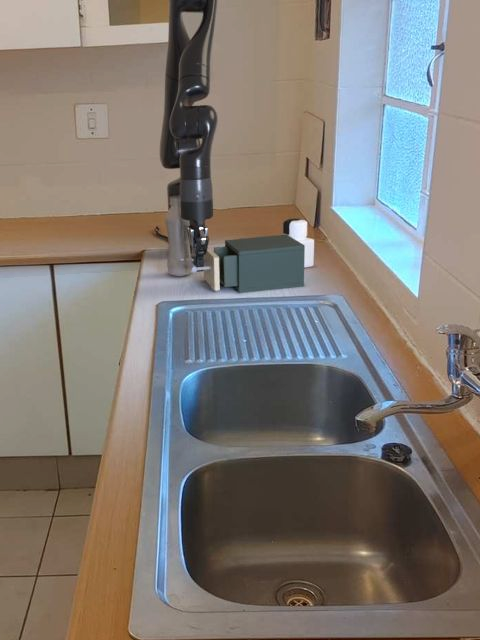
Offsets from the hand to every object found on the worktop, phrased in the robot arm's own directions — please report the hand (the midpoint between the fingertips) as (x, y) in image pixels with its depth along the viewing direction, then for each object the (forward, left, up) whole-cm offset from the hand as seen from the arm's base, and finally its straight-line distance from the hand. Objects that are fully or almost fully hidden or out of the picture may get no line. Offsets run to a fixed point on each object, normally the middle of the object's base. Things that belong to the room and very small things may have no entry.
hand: (198, 270), depth 179 cm
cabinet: (0, +16, -5) cm, 17 cm away
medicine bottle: (-12, +28, -5) cm, 31 cm away
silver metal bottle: (-14, -2, -5) cm, 15 cm away
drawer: (0, +7, -4) cm, 8 cm away
